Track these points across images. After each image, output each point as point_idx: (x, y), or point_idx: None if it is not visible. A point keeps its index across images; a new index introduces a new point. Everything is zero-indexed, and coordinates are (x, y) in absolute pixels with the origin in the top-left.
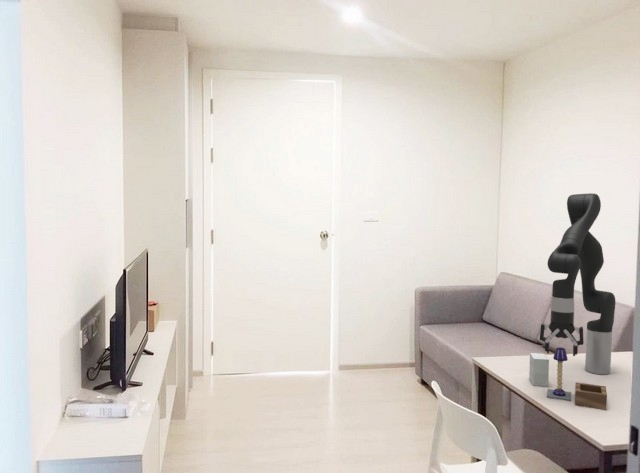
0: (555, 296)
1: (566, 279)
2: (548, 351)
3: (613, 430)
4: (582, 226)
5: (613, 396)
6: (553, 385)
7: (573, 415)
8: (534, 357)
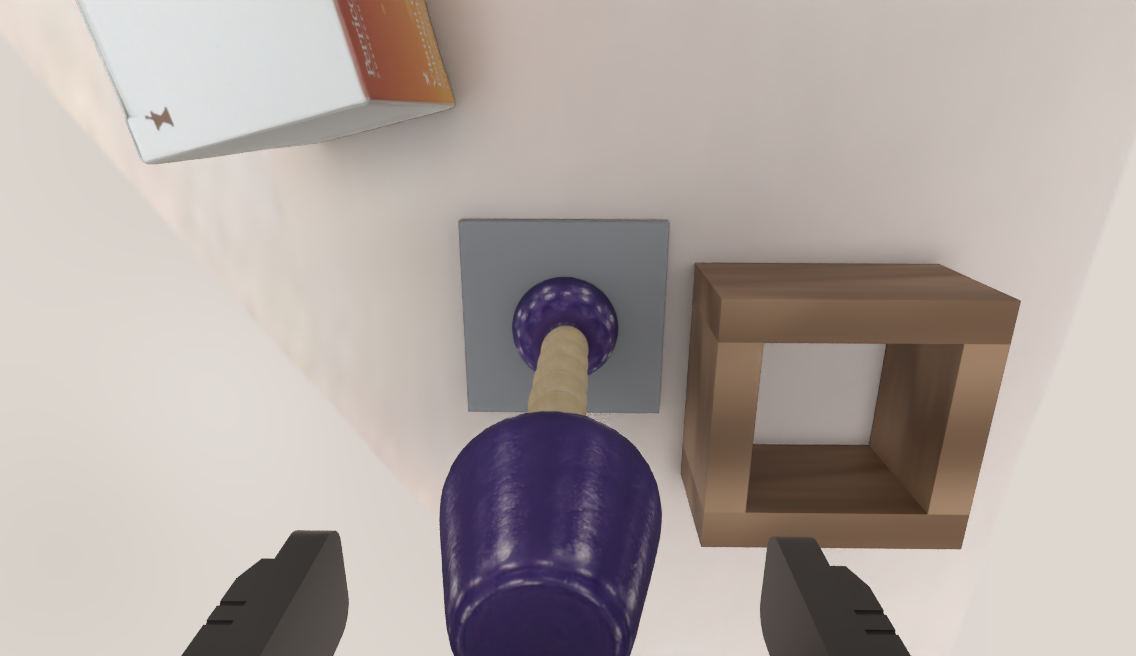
0: None
1: None
2: (329, 645)
3: None
4: None
5: (1046, 119)
6: (502, 32)
7: (660, 645)
8: (129, 73)
